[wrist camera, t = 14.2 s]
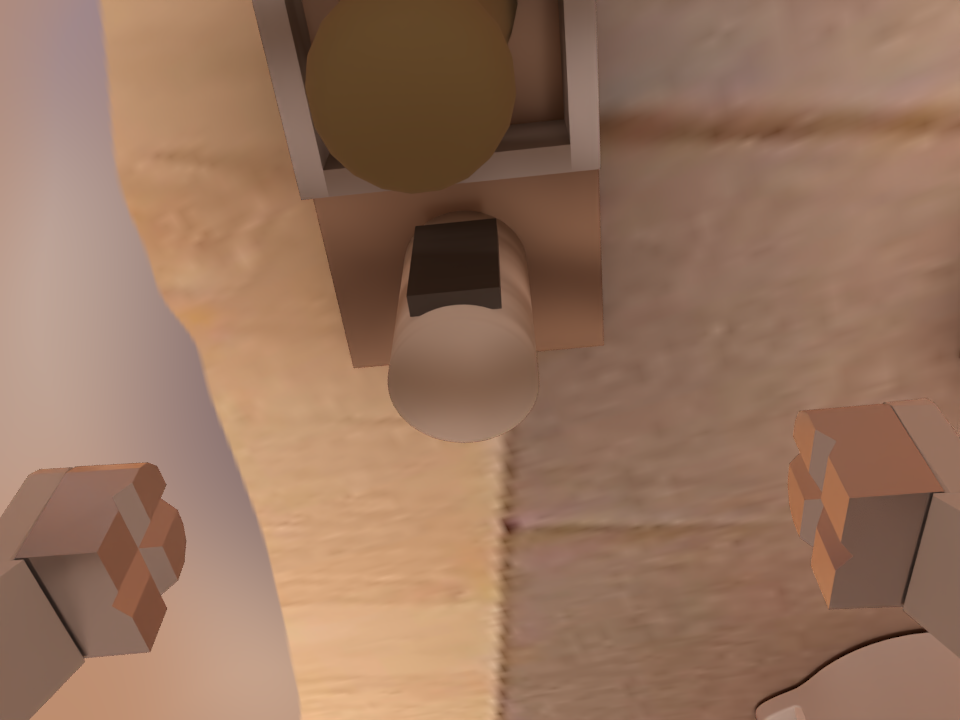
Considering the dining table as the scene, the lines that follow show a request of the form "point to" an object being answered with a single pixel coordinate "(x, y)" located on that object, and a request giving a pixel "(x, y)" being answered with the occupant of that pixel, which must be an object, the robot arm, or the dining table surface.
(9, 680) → the robot arm
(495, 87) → the olive brown pawn
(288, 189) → the dining table surface
